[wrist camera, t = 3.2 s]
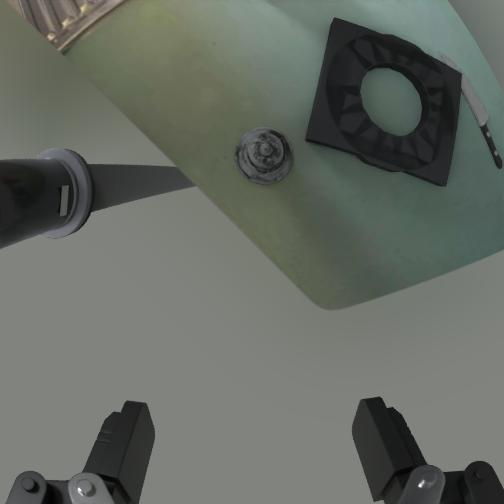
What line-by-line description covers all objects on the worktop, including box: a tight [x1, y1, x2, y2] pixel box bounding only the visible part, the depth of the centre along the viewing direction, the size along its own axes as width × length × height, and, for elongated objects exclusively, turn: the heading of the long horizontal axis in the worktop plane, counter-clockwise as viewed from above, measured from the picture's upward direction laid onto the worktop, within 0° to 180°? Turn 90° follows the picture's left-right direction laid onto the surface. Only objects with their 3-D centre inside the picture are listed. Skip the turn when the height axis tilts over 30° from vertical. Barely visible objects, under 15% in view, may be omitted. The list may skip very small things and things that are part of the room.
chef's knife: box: [439, 52, 502, 169], centre depth 30 cm, size 19×1×3 cm
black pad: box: [305, 18, 462, 187], centre depth 30 cm, size 18×17×2 cm
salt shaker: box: [235, 127, 294, 184], centre depth 28 cm, size 6×6×12 cm
